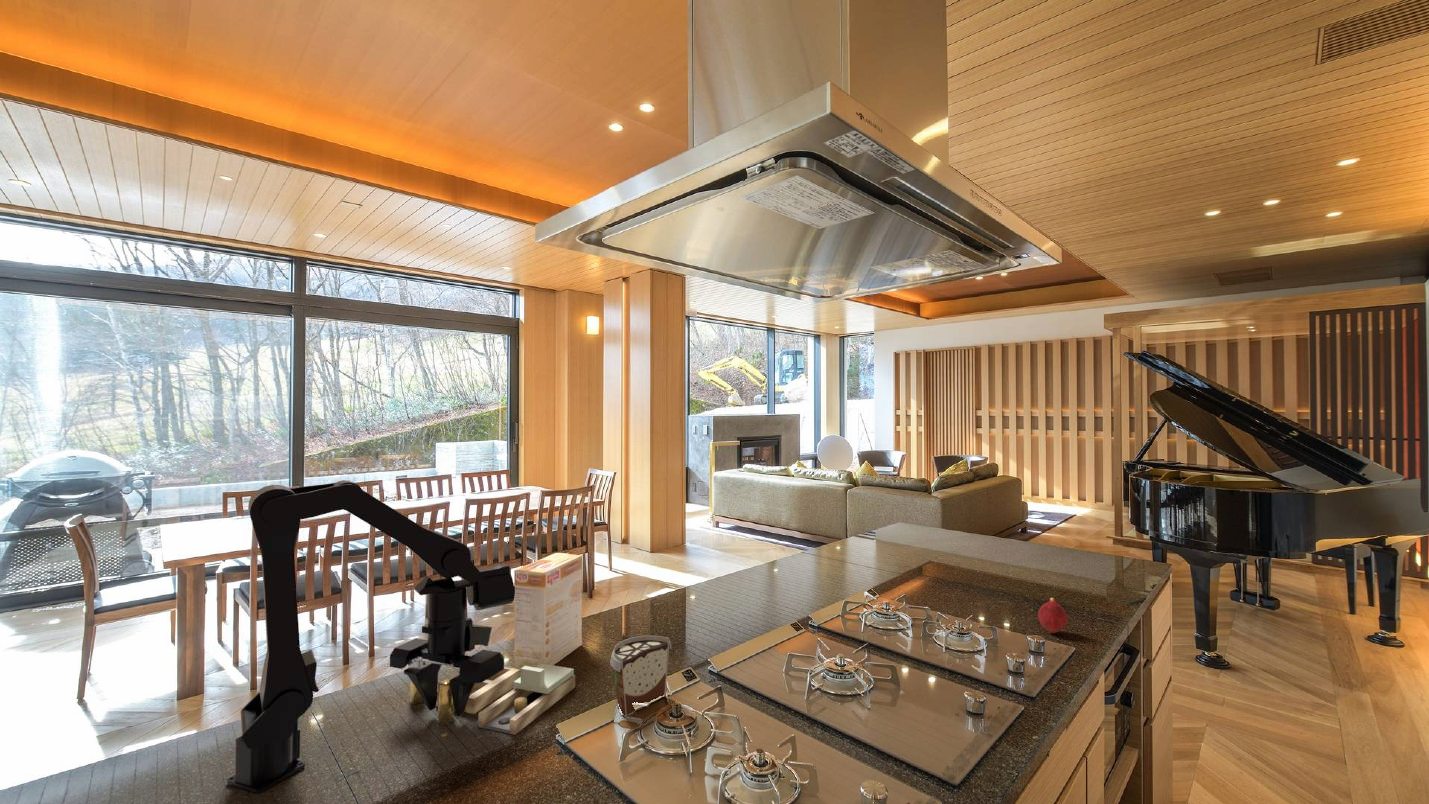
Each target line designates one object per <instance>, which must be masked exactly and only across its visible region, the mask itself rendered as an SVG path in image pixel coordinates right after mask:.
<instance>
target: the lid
mask: <svg viewBox="0 0 1429 804" xmlns="http://www.w3.org/2000/svg"><path fill="white" fill-rule="evenodd" d="M572 675H575V668H572V667H565V666H560V665H559V666H558V665H548V664H542V663H541V664H540V665H538V666H537V667H529V666H524V667H522V668H521V670H520V678H518V679H517V680H515V681H514V682H513V688H512V689H515V688H518V689H523V690H528V691H534V692H535V693H540V694H548V693H550V692H551V691H552V690H554V689H555V688H556V687H558V686H559V685H560V684H562V683H563V682H564V681H566V680H567V679H568V678H570V677H571V676H572ZM534 692H533V693H534Z"/></svg>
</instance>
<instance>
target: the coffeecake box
mask: <svg viewBox="0 0 1429 804" xmlns="http://www.w3.org/2000/svg"><path fill="white" fill-rule="evenodd" d="M513 573H514V575H513V577H514V580H513V584H514V586H515V597H514V600H513V602H514V605H513V606H514V607H513V609H514V611H513V615H514V616H513V621H514V622H513V623H514V624H513V668H515V669H520V671H521V668H522V667H524V666H529V667H537V666H538V665H540V664H541V663H542V664H548V665H554V666H556V665H555V664H557V663H559V662H560V661H561V660H563V659H564V658H566V657H567V656H568V655H570V654H571V653H573V652H574V651H575V650H577V649H578V648H579V647H580V646H582V645H583V640H582V639H583V638H582V637H583V635H582V634H583V633H582V631H583V630H582V629H583V626H582V625H583V624H582V623H583V618H582V617H583V614H582V613H583V612H582V611H583V609H582V608H583V603H582V602H583V601H582V600H583V555H582V554H571V553H564V552H555V553H552V554H550V555H547V556H546V557H545V556H544V557H542V558H541V559H538V560H535V561H533V562H531V563H529V564H526V565H524V566H521V567H519V568H516V569H514V570H513Z"/></svg>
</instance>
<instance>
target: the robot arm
mask: <svg viewBox="0 0 1429 804" xmlns="http://www.w3.org/2000/svg"><path fill="white" fill-rule="evenodd" d="M247 507H248V512H249V517H250V521H251V523H252V528H253V530H254V534H255V538H256V540H257V544H258V548H259V551H260V554H261V568H262V570H261V571H262V584H263V585H262V587H263V601H264V602H263V605H264V616H265V617H264V618H265V619H264V620H265V621H264V622H265V634H266V638H265V639H266V654H265V657H264V661H263V666H262V673H261V679H260V685H259V690H258V692H257V693H256V694H255V696H253V697H252V699H250V700H249V701H248V702H247V703H246V704H245V705H244V707H242V708H241V709H240V723H241V724H240V727H241V736H239V737H237V738H235V759H234V760H235V763H234V764H235V765H234V768H235V769H234V775H232V776H230V777H228V778H227V779H226V784H227V785H230V786H233V787H237V788H239V789H244V790H246V791H248V792H253V793H256V794H259V793H262V792H263V791H265V790H267V789H269V788H271V787H273V786H274V785H276V784H278V783H279V782H282V781H283V780H284V779H287V778H288V777H290V776H292V775H293V774H295V773H296V772H298V771H300V770H302V769H304V768H305V767H306V761H302V760H299V759H300V757H301V734H302V733H301V729H300V728H299V721H298V720H299V718H300V717H302V716H303V715H304V714H305V713H306V712H307V711H308V710H309V708H311V706H312V704H313V700H314V693H318V692H319V691H320V690H319V689H320V688H319V686H318V684H317V681H316V675H317V666H318V663H317V661H316V658H315V655H314V652H313V650H312V649H310V650H307V651H305V652H302V650H301V644H300V643H301V642H300V628H299V626H300V624H299V611H298V593H297V592H298V591H297V578H296V577H297V576H296V575H297V574H296V562H295V561H296V560H295V551H296V546H297V545H296V544H297V542H298V541H297V540H298V537H299V531H300V526H301V520H305V519H310V518H317V517H319V516H322V515H326V514H330V513H334V512H338V511H346V512H347V513H350V514H351V515H353V516H355V517H357V518H358V519H360V520H361V521H363V522H364V523H366V524H368V525H370V526H371V527H373V528H375V529H376V530H378V531H380V532H382V533H383V534H385V535H387V536H388V537H390V538H392V539H394V540H395V541H397V542H399V543H400V544H401V545H403V546H405V547H407V548H408V550H410V551H411V552H412V553H413V554H414V555H416V557H418V558H419V559H420V560H421V561H422V563H425V565H426V566H428V568H430V569H431V570H432V571H434V572H435V573H436V574H438V575H439V576H440V577H442V578H437V579H432V578H431V577H429V575H424V577H423V579H422V580H421V581H420V582H419V583H418V584H417V585H415V586H414V588H413V590H414V591H415V592H416V593H417V594H419V595H420V596H425V595H426V596H427V595H428V596H427V599H428V601H427V603H428V605H427V624H423V625H422V626H421V633H422V634H427V639H422V638H414V639H411V640H409V641H407V642H405V643H402V644H400V645H398V646H396V647H394V648H393V650H392V651H391V653H390V655H389V667H390V668H395V669H400V670H403V669H404V670H403V674H404V675H405V676H407V677H408V679H410V680H411V681H412V683H413V684H414V686H415V687H416V688H417V690H418V692H419V693H420V695H421V697H422V699H423V700H424V702H423V703H424V704H425V706H426V707H427V709H428V711H433V710H435V709H436V707H437V706H436V702H437V691H438V684H439V680H438V679H439V672H440V670H441V667H442V666H447V667H451V668H452V667H453V668H458V669H459V670H458V675H456V676H454V677H453V678H451V679H448V680H449V682H450V687H451V693H452V698H453V704H454V709H455V710H454V713H455V715H456V717H461V716H462V715H464V713H465V712H464V710H465V707H466V705H467V702H468V699H469V696H470V695H471V691H472V689H473V686H474V684H475V683H481V682H484V681H485V680H487V679H489V678H490V677H492V676H493V675H495V674H497V673H498V672H500V671H502V670H503V669H504V667H505V656H504V655H503V654H502V653H501V652H499V651H494V650H488V649H482V650H480V651H478V652H476V653H475V654H473V655H466V652H471V651H473V650H475V648H476V646H483V647H488V646H489V643H490V642H489V641H490V639H491V633H492V630H493V629H492V628H493V626H489V625H483V624H482V625H480V624H476V623H474V621H473V619H472V618H471V617H467V604H468V605H469V606H473V607H474V609H475V610H476V611H482V610H483V611H484V610H487V609H492V608H496V607H502V606H506V605H507V606H508V605H510V604H513V602H514V597H515V586H514V580H513V576H512V574H511V567H510V565H508V564H506V563H502V564H498V565H495V566H491V567H485V568H478V567H477V566H476V565H475V564H474V563H473V562H472V561H471V560H472V555H471V554H472V553H471V550H470V548H469V547H468V545H466V544H464V543H462V542H461V541H459V540H457V539H455V538H453V537H451V536H450V535H446V534H444V533H441V532H438V531H436V530H433V529H430V528H427V527H425V526H423V525H420V524H418V523H416V522H415V521H413V520H411V519H410V518H408V517H407V516H405V515H404V514H402V513H400V511H398V510H395V509H394V508H392V507H391V506H389V505H387V504H386V503H384V502H383V501H381V500H380V499H378V498H377V497H375V496H373V495H371V494H369V493H368V492H366V491H365V490H363V488H362V487H361V486H360V485H359V484H357V483H355V482H354V481H351V480H346V479H345V480H344V479H343V480H339V481H337V482H330V483H323V484H313V485H305V486H298V487H297V486H296V487H292V488H289V487H288V486H285V485H282V484H270V485H265V486H263V487H261V488H259V489H257V490H256V491H255V492H254V493H253V494H252V495H251V497H250V498H249V500H248V506H247ZM456 577H458V578H461V579H460V580H459V579H458V580H454V579H453V578H456ZM406 666H407V668H406ZM405 668H406V669H405ZM489 680H490V679H489Z"/></svg>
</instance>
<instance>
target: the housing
mask: <svg viewBox="0 0 1429 804" xmlns="http://www.w3.org/2000/svg"><path fill="white" fill-rule="evenodd" d="M575 687H576V674H574V675H572V676H571V677H570V678H568V679H567V680H566V681H564V682H563V683H562V684H560V685H559V686H558V687H556V688H555V689H554V690H552V691H551V692H550V693H548V694H544V693H542V695H541V696H539V697H537V699H535V700H534V701H533V702H531V703H529V704H528V698H527V697H529V696H530V695H531V694H533V693H534V691H528V690H523V689H518V688H512V689H511V690H509V691H508V692H506V693H505V694H503V695H502V696H500V697H499V698H497V699H496V700H494V701H493V702H491V703H490V705H487V706H486V708H485V707H484V708H483V709H481V710H480V711H478V716H477V717H478V720H477V721H478V723H477V724H478V728H481V729H487V730H491V731H495V732H500V733H504V734H510V735H513V736H516V735H517V734H518V733H519V732H520V731H522V730H523V729H524V728H526V726H528V725H530V724H531V723H532V722H533V721H534V720H536V719H537V718H538V717H539V716H541V715H542V714H543V713H544V712H545V711H547V710H548V709H550V708H551V707H552V706H553V705H554V704H556V703H557V702H559V700H561V699H562V698H564V697H565V696H566V695H567V694H569V692H571V691H573V689H575Z"/></svg>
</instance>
